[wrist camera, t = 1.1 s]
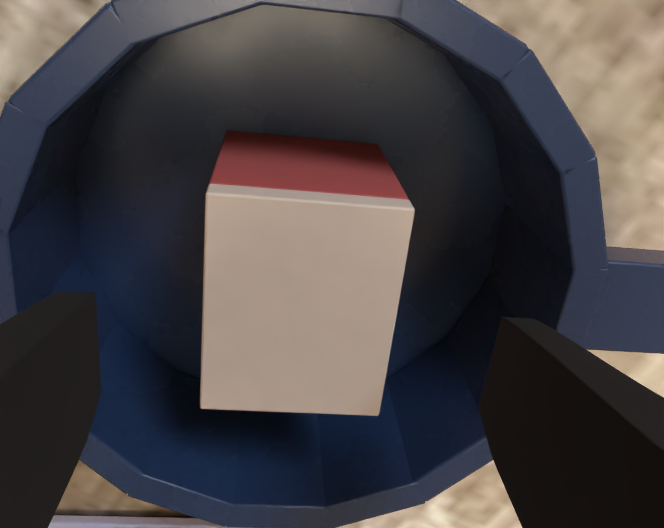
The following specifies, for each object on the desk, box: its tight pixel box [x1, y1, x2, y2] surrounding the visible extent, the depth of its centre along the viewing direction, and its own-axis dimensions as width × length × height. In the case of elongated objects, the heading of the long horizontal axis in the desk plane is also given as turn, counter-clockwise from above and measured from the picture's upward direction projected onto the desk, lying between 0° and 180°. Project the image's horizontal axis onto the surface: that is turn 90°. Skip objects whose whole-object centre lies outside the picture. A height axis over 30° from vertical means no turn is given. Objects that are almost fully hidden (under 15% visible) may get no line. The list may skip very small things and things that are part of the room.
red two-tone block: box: [200, 130, 415, 416], centre depth 15 cm, size 5×4×5 cm
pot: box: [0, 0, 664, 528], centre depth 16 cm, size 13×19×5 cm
